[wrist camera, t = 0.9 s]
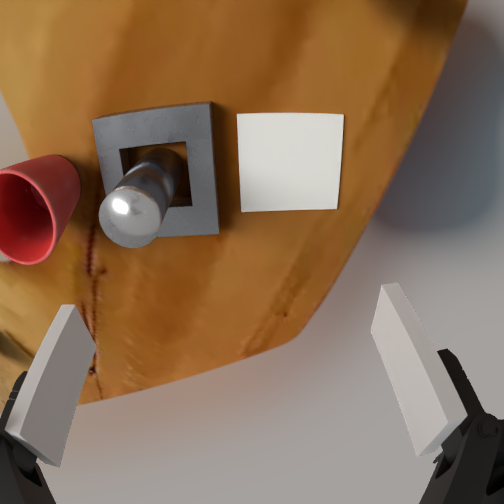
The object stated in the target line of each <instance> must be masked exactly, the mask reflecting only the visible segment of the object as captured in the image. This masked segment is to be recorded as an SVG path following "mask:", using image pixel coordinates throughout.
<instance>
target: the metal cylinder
mask: <svg viewBox="0 0 504 504" xmlns="http://www.w3.org/2000/svg"><path fill="white" fill-rule="evenodd" d="M182 176H183V164H182V161H181V159H180V158H179V156H178V155H177V154H176V153H175V152H173V151H172V150H170V149H167V148H154V149H152V150H150V151H148V152H147V153H146V154H145V155H144V156H143V157H142V158H141V159H140V160H139V161H138V162H137V163H136V164H135V165H134V166H133V167H132V169H131V170H130V171H129V172H128V173H127V174H126V175H125V176H124V177H123V178H122V180H121V181H120V182H119V183H118V184H117V185H116V186H115V188H114V189H113V190H112V191H111V192H110V193H109V194H108V196H107V197H106V198H105V199H104V201H103V202H102V204H101V206H100V210H99V221H100V224H101V227H102V229H103V231H104V233H105V234H106V235H107V236H108V237H109V238H110V239H111V240H112V241H113V242H115V243H116V244H118V245H121V246H123V247H127V248H139V247H143V246H145V245H147V244H149V243H150V242H151V241H152V240H153V239H154V238H155V237H156V235H157V233H158V231H159V228H160V226H161V224H162V221H163V219H164V217H165V214H166V212H167V210H168V207H169V205H170V203H171V201H172V198H173V196H174V194H175V192H176V190H177V187H178V185H179V183H180V181H181V179H182Z"/></svg>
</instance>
